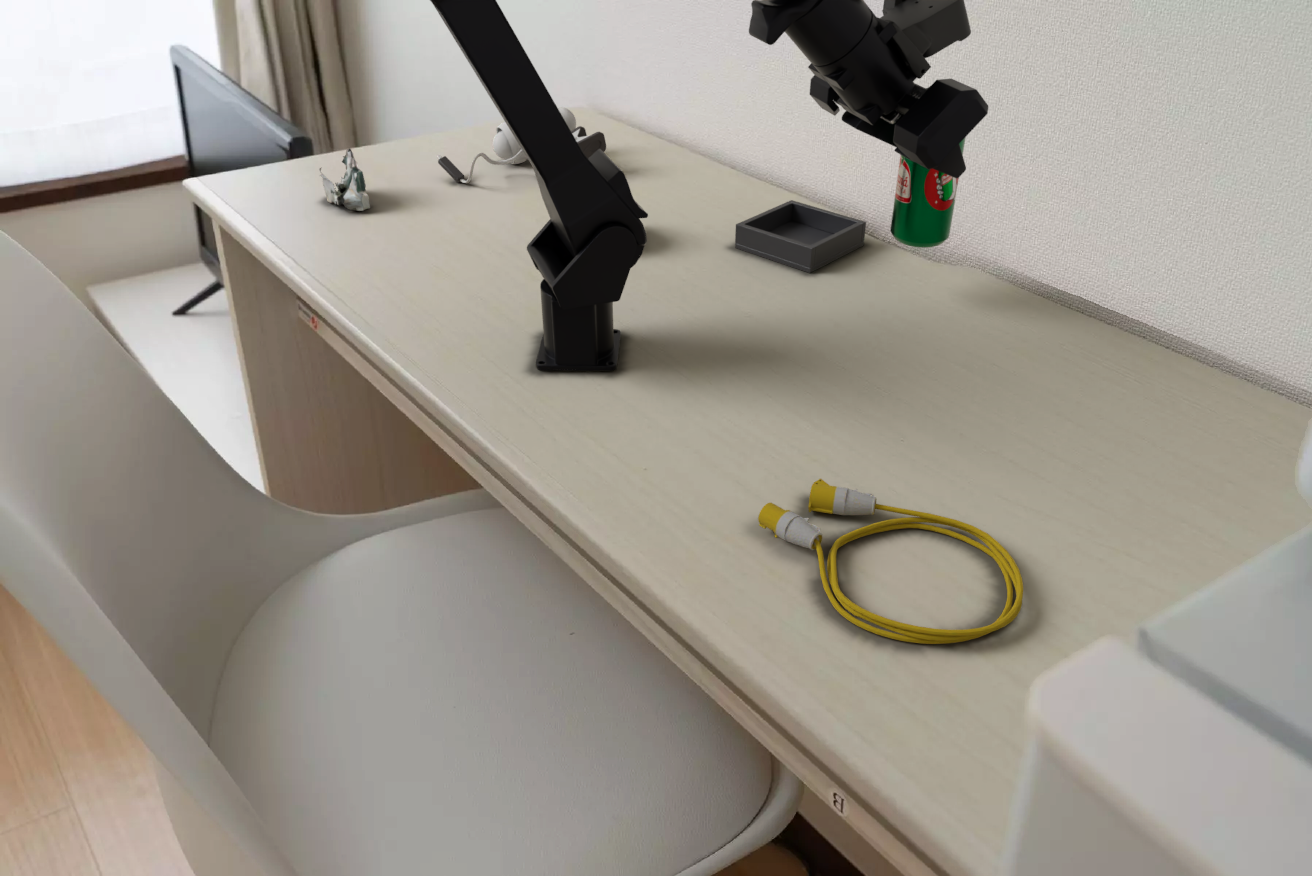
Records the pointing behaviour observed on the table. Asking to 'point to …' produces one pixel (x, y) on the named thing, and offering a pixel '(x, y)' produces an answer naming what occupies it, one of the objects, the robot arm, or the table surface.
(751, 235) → the square tray
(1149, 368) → the table surface
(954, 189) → the soda can
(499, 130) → the clip-on lamp
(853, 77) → the robot arm
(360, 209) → the grey green figurine
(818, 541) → the extension cord
